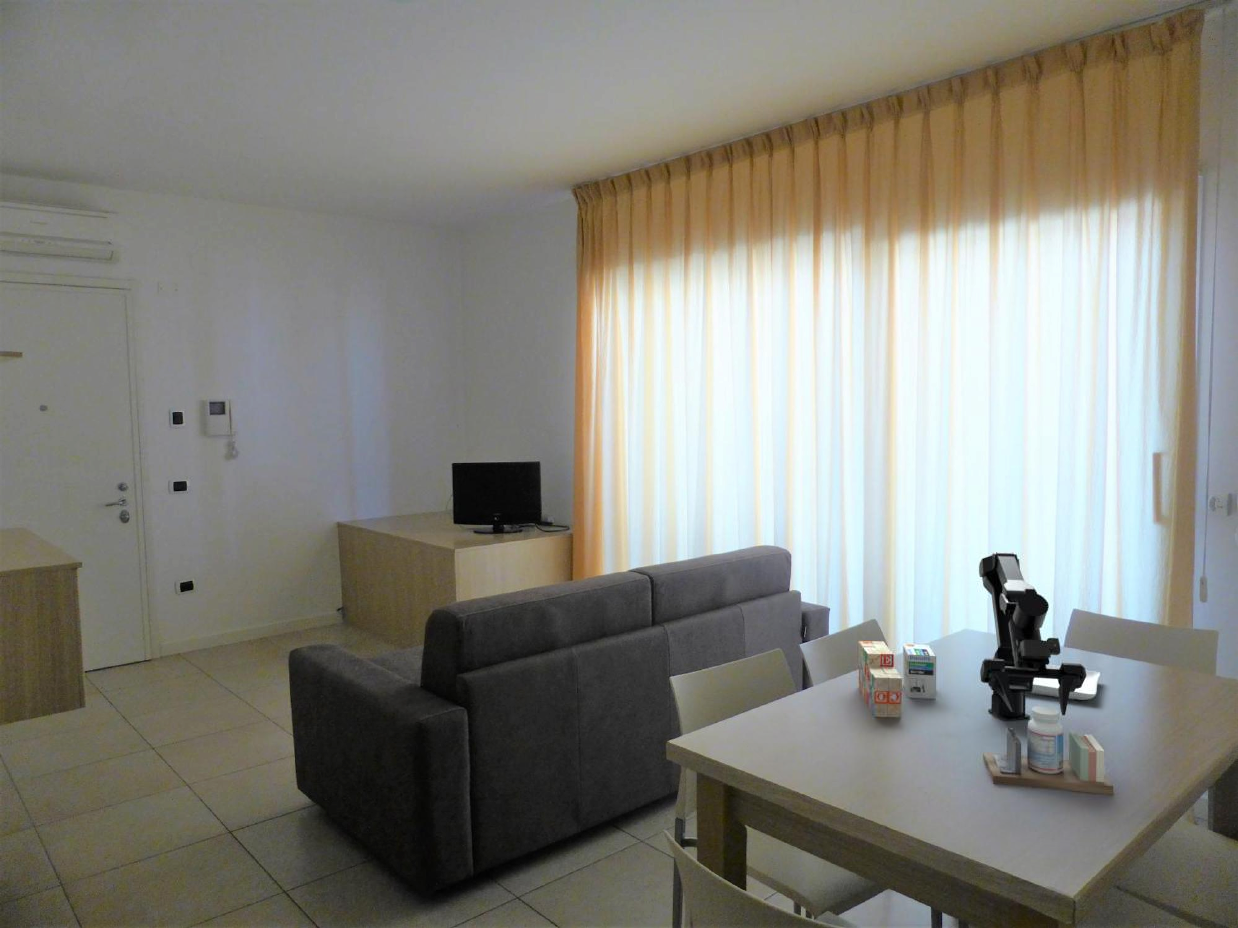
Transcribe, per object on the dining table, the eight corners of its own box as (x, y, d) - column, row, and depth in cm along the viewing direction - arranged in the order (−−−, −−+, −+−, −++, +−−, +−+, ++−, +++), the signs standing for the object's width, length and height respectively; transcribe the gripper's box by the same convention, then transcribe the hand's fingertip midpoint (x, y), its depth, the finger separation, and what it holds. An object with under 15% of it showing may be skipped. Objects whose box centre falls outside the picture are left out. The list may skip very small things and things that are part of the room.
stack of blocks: (902, 718, 191) (902, 664, 190) (873, 717, 192) (874, 664, 191) (883, 688, 212) (883, 640, 211) (858, 687, 213) (858, 639, 212)
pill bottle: (1045, 760, 163) (1046, 703, 162) (1070, 772, 157) (1071, 713, 156) (1019, 763, 161) (1020, 706, 161) (1043, 776, 155) (1044, 716, 155)
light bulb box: (936, 699, 203) (937, 655, 202) (907, 698, 204) (908, 654, 204) (929, 686, 213) (930, 644, 213) (902, 684, 215) (902, 642, 214)
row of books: (1068, 762, 161) (1069, 732, 161) (1091, 764, 160) (1091, 733, 160) (1080, 779, 154) (1080, 747, 153) (1104, 782, 153) (1104, 749, 152)
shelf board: (983, 760, 167) (983, 752, 167) (1094, 769, 162) (1094, 761, 162) (993, 783, 156) (993, 775, 156) (1113, 794, 151) (1113, 786, 151)
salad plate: (1100, 683, 215) (1100, 670, 215) (1095, 707, 197) (1095, 693, 197) (1010, 670, 227) (1010, 658, 226) (997, 692, 209) (997, 679, 209)
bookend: (992, 756, 165) (993, 726, 164) (1012, 757, 164) (1012, 727, 164) (1000, 772, 157) (1001, 741, 157) (1020, 774, 156) (1021, 743, 156)
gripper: (983, 619, 171) (992, 690, 161) (1084, 624, 166) (1100, 697, 156) (976, 646, 179) (984, 715, 169) (1073, 652, 174) (1087, 723, 164)
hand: (1038, 712), depth 164 cm, fingers open, 9 cm apart
